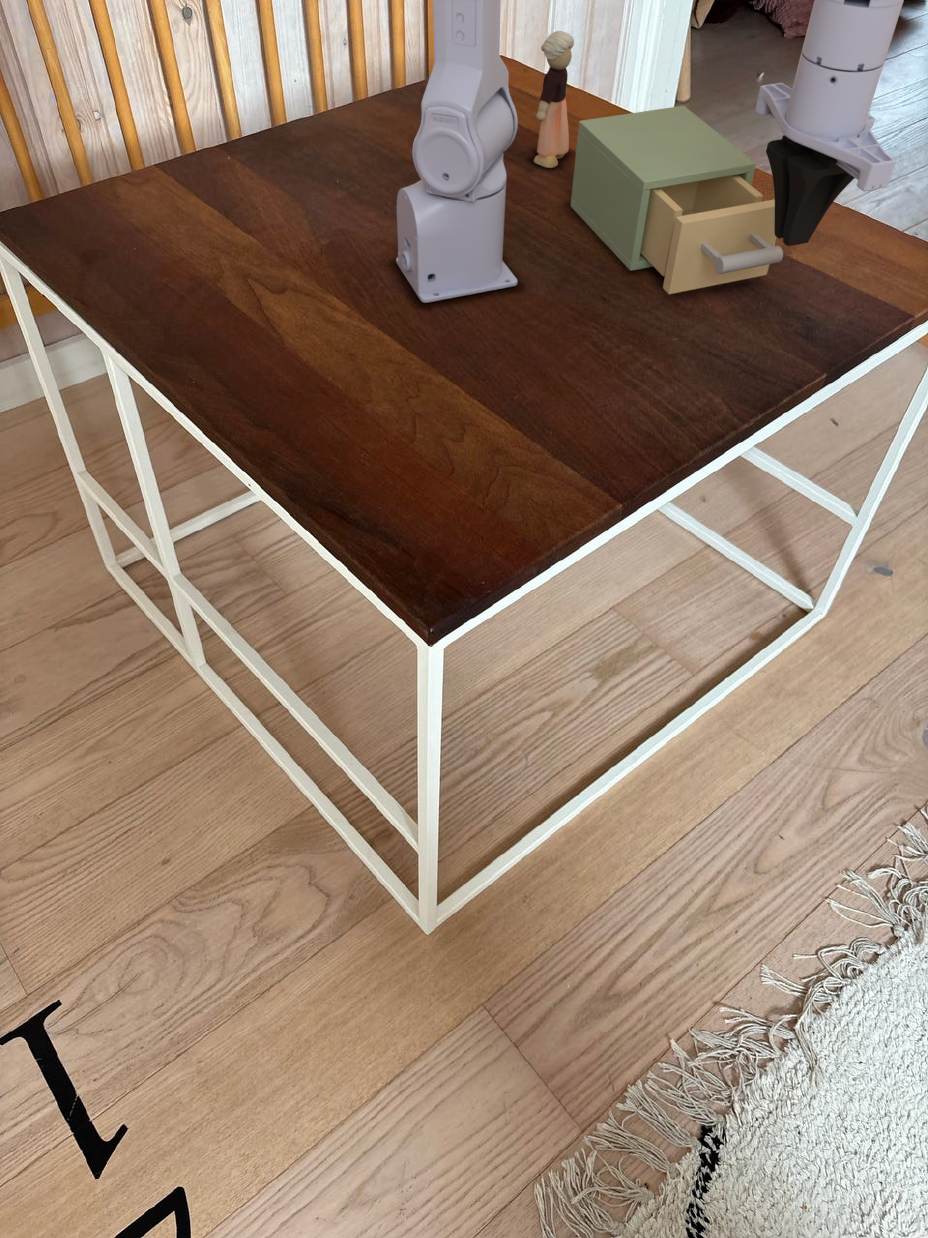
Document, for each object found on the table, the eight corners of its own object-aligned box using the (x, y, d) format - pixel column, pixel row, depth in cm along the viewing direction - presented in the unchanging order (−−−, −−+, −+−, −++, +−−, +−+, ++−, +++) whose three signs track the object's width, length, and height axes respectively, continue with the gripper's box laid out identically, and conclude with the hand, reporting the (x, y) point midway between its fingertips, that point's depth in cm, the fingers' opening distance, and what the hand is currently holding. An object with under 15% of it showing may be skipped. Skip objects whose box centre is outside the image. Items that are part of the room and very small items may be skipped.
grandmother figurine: (563, 173, 108) (574, 46, 98) (528, 170, 108) (536, 42, 99) (572, 143, 113) (584, 19, 103) (538, 140, 113) (547, 16, 104)
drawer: (791, 297, 90) (812, 225, 85) (691, 318, 88) (706, 245, 83) (699, 213, 100) (714, 145, 95) (607, 230, 98) (617, 160, 93)
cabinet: (735, 250, 97) (756, 163, 91) (630, 271, 95) (644, 181, 88) (668, 189, 106) (683, 104, 99) (570, 206, 103) (578, 120, 96)
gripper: (956, 88, 67) (887, 274, 77) (830, 15, 75) (784, 190, 86) (868, 101, 65) (810, 290, 75) (750, 25, 74) (712, 203, 84)
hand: (791, 238), depth 80 cm, fingers closed
